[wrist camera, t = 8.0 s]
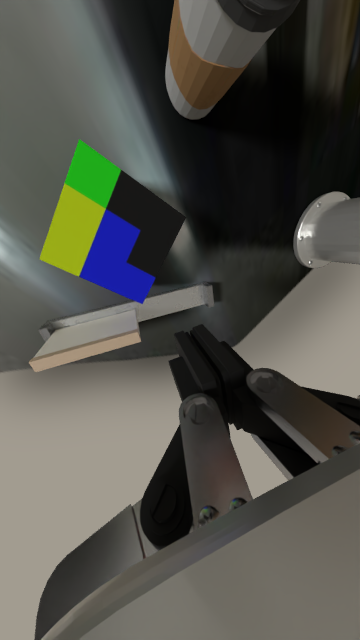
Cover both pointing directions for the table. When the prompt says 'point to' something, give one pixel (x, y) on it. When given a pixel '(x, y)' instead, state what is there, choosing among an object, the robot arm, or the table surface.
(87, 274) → the puzzle toy
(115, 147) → the table surface
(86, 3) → the table surface
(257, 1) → the coffee cup
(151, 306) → the rail
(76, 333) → the screen
